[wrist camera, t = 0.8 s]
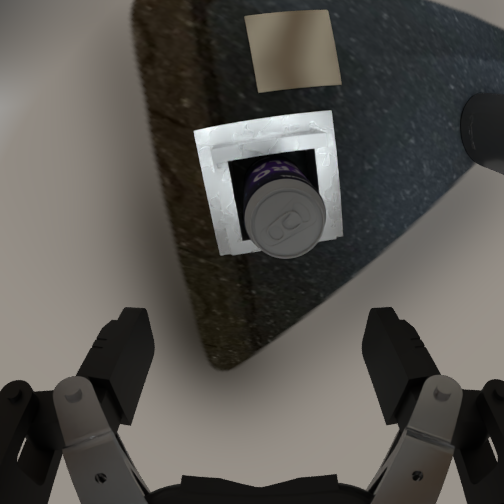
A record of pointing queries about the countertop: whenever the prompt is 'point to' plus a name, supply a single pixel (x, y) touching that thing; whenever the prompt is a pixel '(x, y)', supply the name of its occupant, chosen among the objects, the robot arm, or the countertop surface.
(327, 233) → the sleeve
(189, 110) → the countertop surface
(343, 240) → the countertop surface
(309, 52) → the birch pad
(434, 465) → the robot arm
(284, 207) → the beverage can
